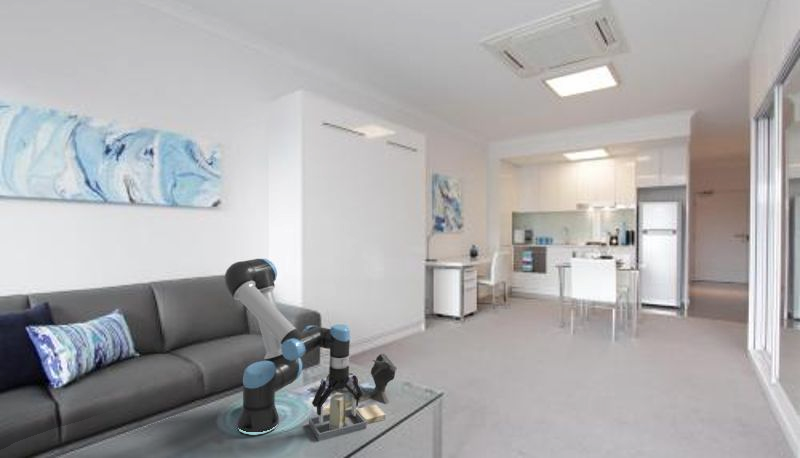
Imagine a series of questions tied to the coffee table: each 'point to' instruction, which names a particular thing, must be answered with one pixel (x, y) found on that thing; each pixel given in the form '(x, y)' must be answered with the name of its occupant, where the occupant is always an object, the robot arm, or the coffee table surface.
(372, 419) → the pad
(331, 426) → the skincare box
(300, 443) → the coffee table surface
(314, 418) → the tray
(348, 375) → the portable speaker
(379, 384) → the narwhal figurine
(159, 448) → the coffee table surface
